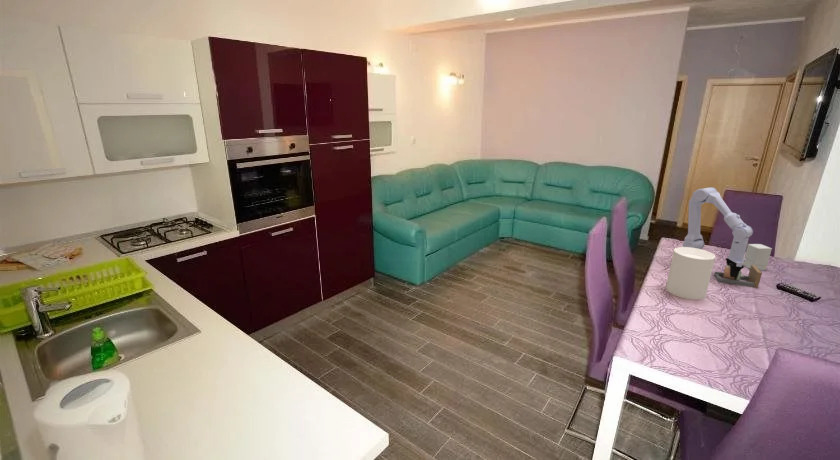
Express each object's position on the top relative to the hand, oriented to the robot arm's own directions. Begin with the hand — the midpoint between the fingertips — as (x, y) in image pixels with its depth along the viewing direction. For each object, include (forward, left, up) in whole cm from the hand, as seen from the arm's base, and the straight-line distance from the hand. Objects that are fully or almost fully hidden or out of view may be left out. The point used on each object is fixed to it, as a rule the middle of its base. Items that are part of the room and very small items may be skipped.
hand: (731, 274), depth 194 cm
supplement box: (+16, +25, -3) cm, 30 cm away
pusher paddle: (+3, 0, -3) cm, 4 cm away
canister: (-23, -24, -3) cm, 33 cm away
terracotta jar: (-1, 0, -2) cm, 2 cm away
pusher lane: (+1, 0, -3) cm, 3 cm away
